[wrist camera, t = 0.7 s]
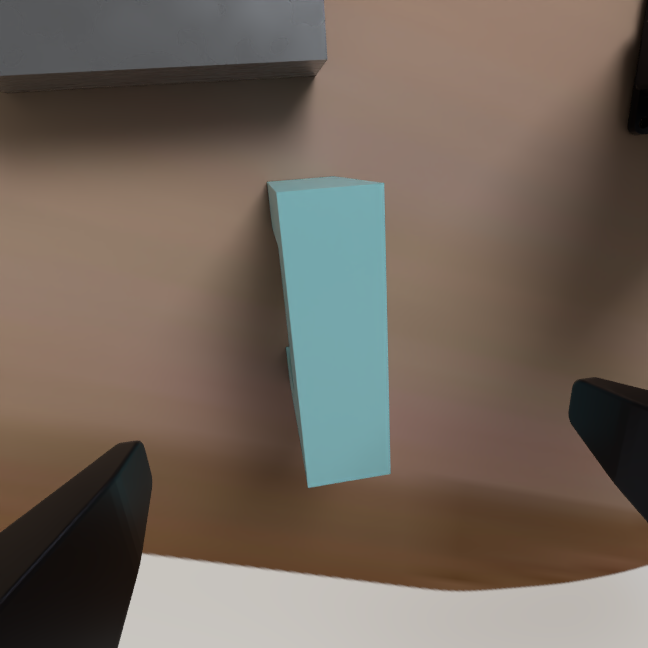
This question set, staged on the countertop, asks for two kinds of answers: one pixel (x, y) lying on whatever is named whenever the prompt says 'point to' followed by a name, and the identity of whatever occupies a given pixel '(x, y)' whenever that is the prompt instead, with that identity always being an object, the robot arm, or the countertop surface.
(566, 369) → the countertop surface
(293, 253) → the clip
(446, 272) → the countertop surface
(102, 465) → the robot arm
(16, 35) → the rail plate
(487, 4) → the countertop surface
